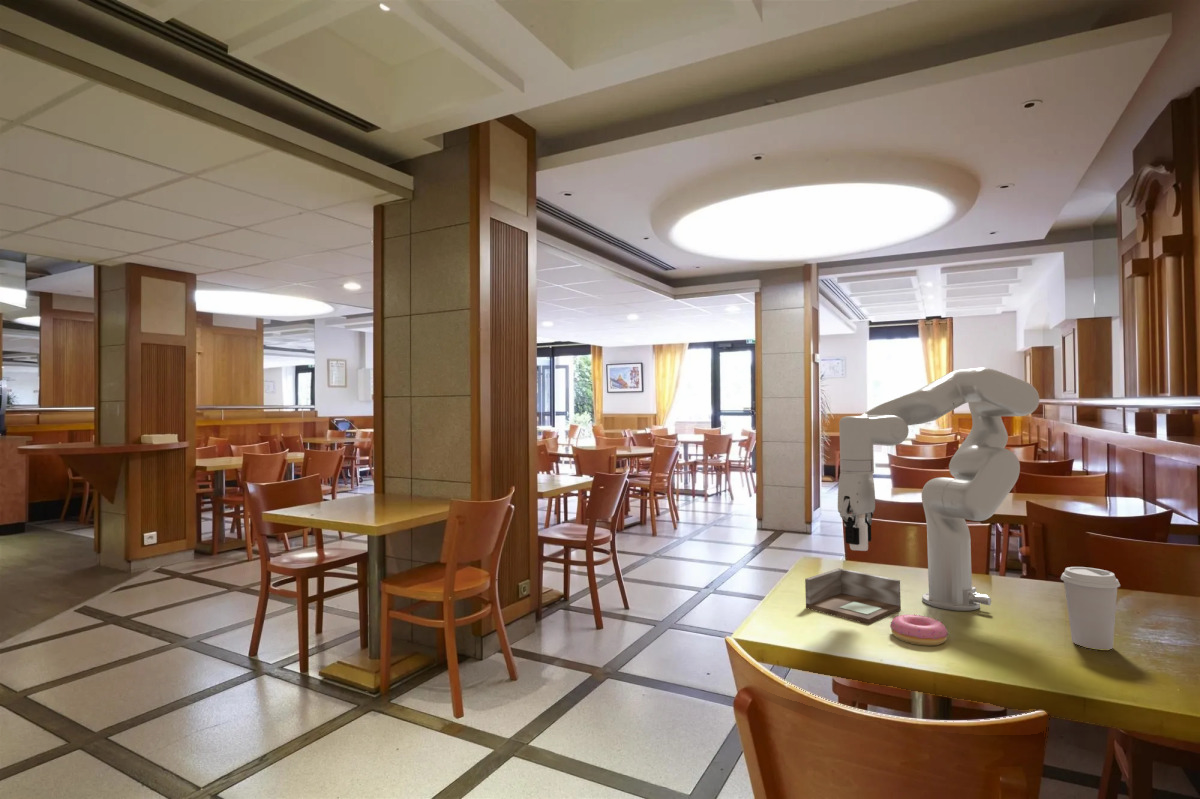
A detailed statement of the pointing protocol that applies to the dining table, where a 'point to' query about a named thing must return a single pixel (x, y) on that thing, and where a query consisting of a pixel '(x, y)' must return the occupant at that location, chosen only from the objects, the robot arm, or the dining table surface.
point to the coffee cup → (1091, 605)
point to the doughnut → (919, 630)
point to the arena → (853, 595)
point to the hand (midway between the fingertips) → (858, 541)
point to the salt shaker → (861, 534)
